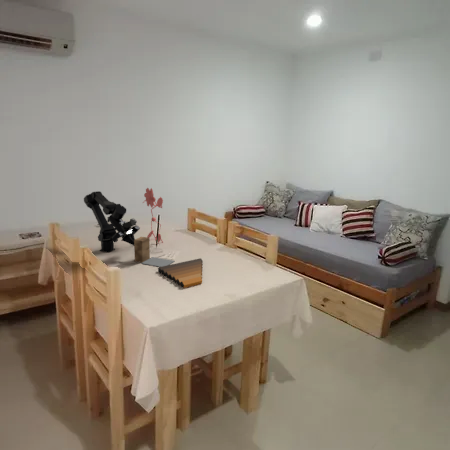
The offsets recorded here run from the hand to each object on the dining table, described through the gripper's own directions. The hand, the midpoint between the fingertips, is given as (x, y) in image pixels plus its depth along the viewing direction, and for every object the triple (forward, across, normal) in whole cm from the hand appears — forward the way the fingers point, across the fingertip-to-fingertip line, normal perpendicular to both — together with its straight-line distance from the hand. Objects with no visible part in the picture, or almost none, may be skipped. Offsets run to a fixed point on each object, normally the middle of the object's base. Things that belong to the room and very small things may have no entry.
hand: (135, 245), depth 197 cm
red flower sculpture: (-2, +30, +13) cm, 33 cm away
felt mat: (+15, 0, -4) cm, 16 cm away
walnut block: (+8, 0, +3) cm, 9 cm away
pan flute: (+32, -6, -20) cm, 39 cm away
